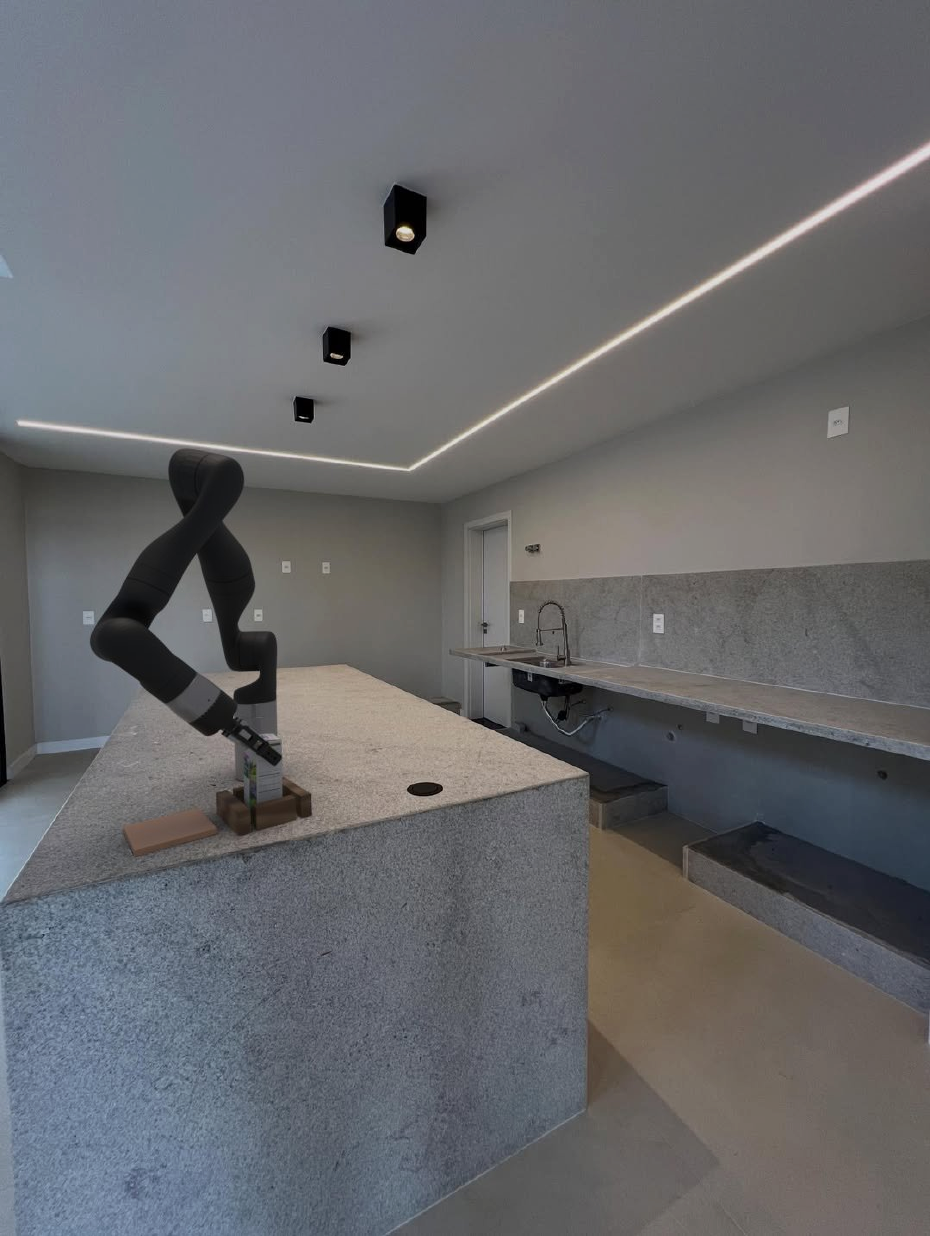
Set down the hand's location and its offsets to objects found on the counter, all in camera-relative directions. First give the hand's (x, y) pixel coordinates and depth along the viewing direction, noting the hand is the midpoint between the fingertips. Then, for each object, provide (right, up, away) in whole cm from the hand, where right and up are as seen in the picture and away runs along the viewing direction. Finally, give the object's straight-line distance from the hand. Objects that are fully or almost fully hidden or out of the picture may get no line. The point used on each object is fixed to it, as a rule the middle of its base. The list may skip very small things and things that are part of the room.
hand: (270, 757), depth 98 cm
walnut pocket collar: (-1, -10, -1) cm, 11 cm away
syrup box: (-1, -11, -1) cm, 11 cm away
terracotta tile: (-14, -11, -8) cm, 20 cm away
